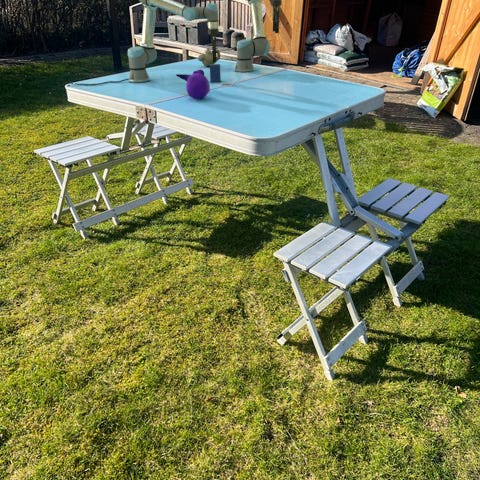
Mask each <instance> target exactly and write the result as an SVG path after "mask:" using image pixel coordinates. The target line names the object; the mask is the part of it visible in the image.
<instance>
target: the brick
mask: <svg viewBox="0 0 480 480" xmlns="http://www.w3.org/2000/svg"><path fill="white" fill-rule="evenodd" d="M209 77H210V78H209V79H210V80H209V83H221V82H222V78H221V63H215V64H210V67H209Z"/></svg>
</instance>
